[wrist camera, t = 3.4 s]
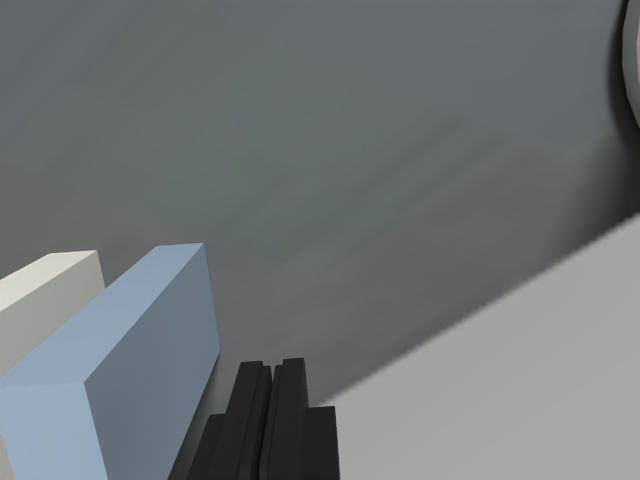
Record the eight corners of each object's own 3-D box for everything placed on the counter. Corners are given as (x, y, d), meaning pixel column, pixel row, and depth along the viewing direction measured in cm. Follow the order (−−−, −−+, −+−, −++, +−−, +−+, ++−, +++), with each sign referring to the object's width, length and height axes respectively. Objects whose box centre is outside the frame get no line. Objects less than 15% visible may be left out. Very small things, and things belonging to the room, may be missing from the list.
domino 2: (204, 242, 19) (83, 382, 9) (220, 350, 20) (130, 569, 11) (156, 246, 19) (-14, 388, 9) (176, 353, 20) (46, 574, 11)
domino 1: (96, 250, 19) (-134, 396, 9) (120, 356, 20) (-59, 579, 11) (49, 253, 19) (-229, 402, 9) (76, 359, 20) (-143, 585, 11)
